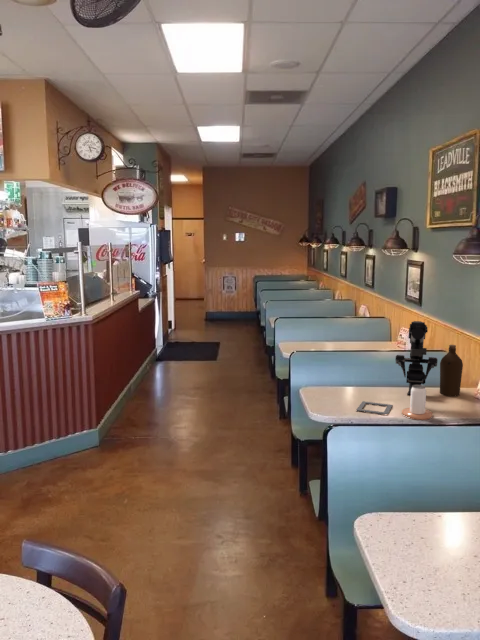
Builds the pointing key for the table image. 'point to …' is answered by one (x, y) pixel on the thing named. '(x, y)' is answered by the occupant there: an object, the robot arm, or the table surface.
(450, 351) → the olive oil
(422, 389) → the can
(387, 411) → the gray square frame
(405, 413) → the plate
